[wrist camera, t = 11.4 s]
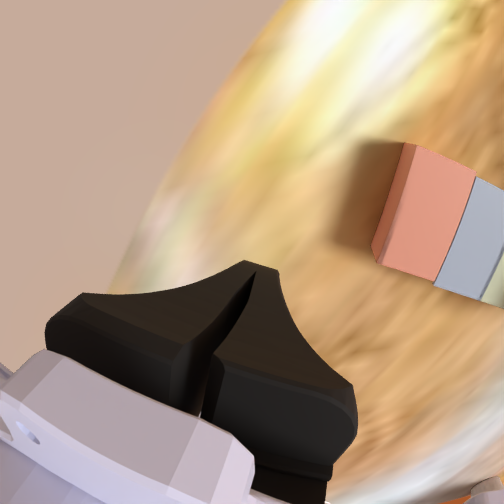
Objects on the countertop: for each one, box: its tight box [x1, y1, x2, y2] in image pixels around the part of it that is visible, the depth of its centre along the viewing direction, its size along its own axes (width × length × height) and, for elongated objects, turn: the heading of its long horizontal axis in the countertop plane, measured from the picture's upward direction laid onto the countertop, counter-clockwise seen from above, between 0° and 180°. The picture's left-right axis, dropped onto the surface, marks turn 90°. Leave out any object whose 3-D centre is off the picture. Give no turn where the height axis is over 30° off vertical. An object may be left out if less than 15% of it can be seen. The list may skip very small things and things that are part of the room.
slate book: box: [432, 176, 504, 301], centre depth 17 cm, size 7×4×3 cm, turn 167°
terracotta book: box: [370, 143, 476, 281], centre depth 17 cm, size 7×4×3 cm, turn 167°
